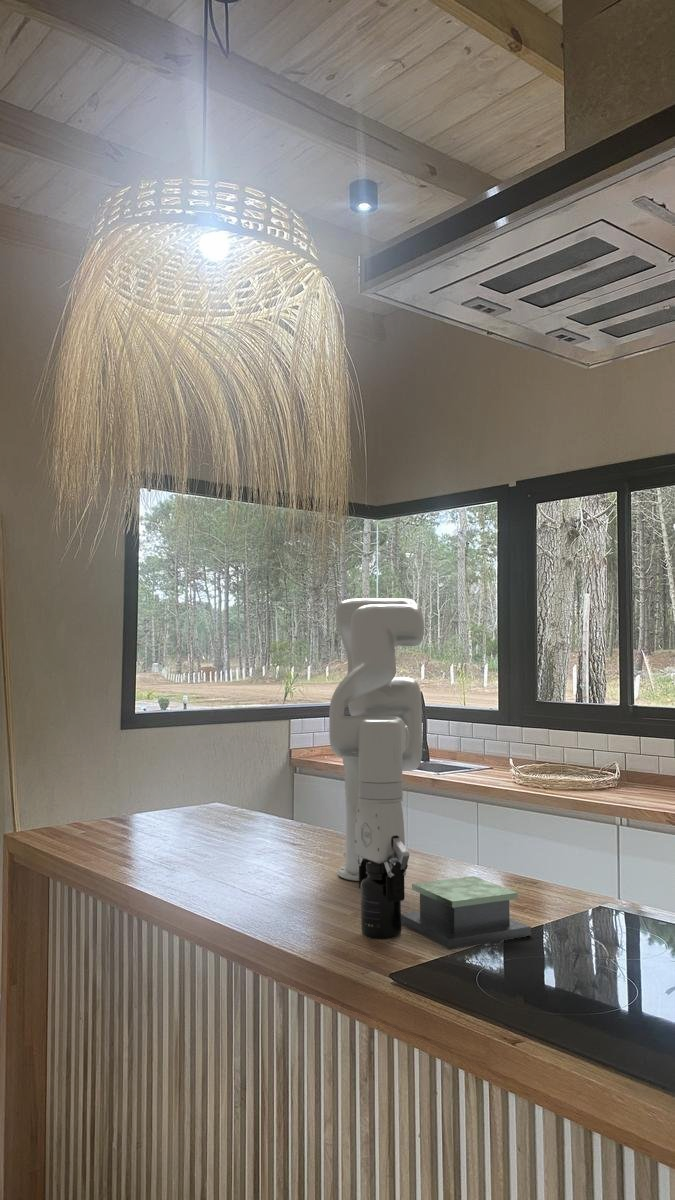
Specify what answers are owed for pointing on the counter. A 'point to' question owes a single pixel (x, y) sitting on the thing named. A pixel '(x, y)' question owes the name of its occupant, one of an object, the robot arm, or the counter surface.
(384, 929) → the supplement bottle
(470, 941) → the stand
